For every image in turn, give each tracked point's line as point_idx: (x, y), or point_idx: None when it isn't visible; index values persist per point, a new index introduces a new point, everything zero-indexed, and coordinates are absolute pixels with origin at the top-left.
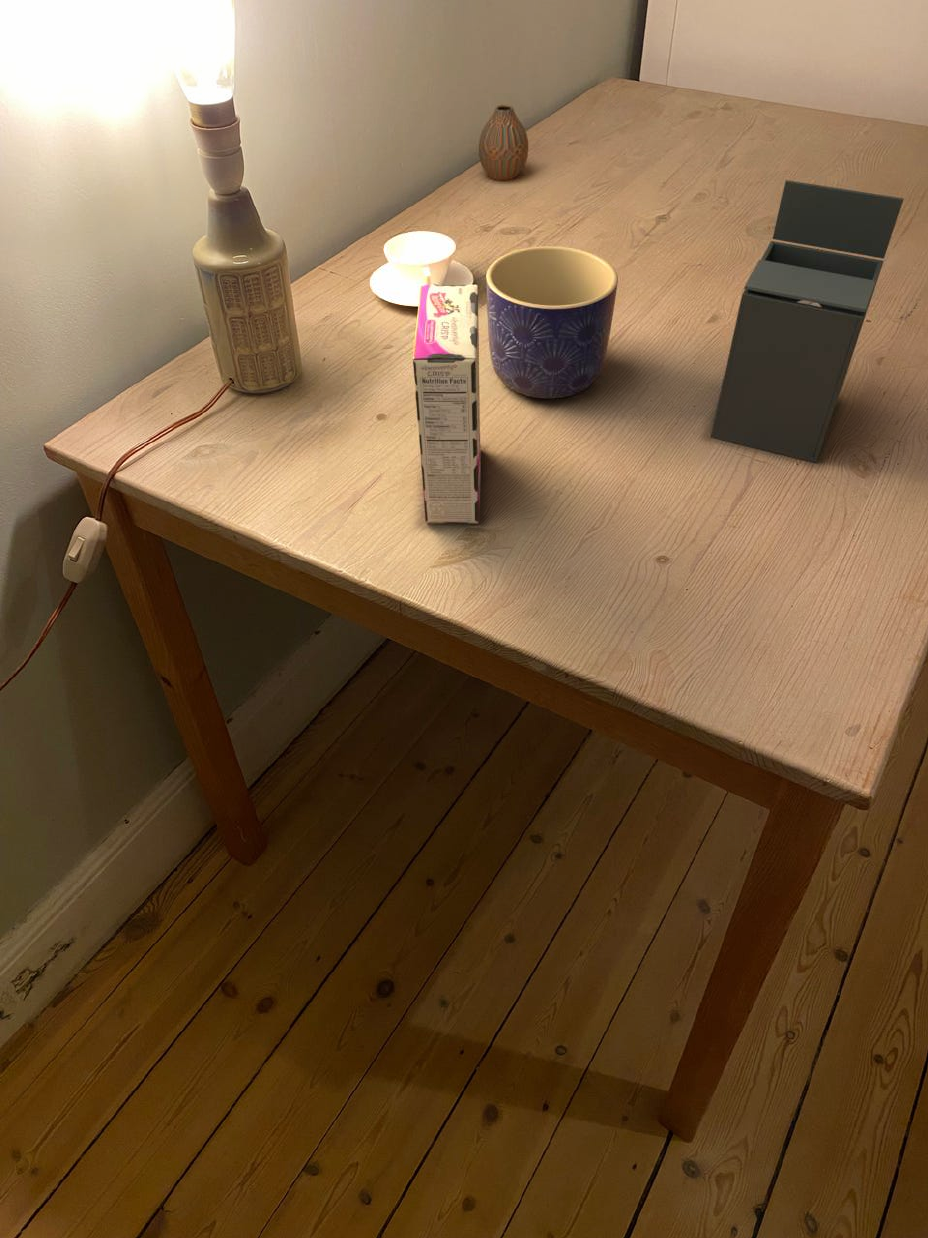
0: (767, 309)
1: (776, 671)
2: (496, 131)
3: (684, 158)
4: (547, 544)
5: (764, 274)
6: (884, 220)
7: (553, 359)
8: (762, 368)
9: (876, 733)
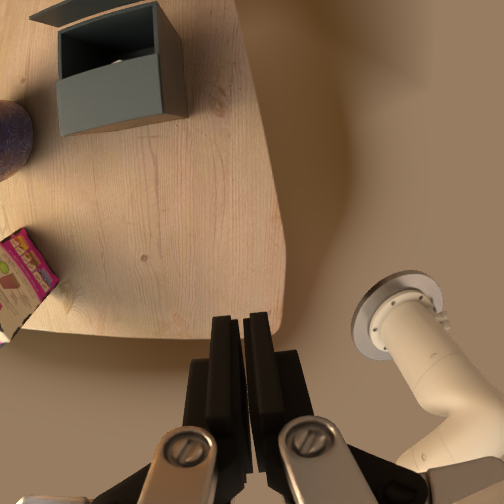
0: (89, 130)
1: (227, 300)
2: None
3: None
4: (92, 276)
5: (67, 105)
6: None
7: (7, 175)
8: (116, 127)
9: (278, 310)
